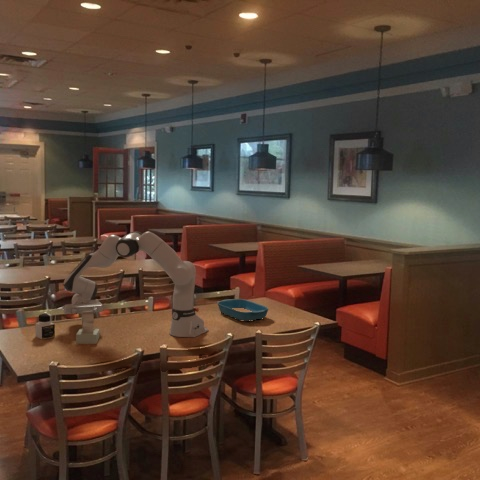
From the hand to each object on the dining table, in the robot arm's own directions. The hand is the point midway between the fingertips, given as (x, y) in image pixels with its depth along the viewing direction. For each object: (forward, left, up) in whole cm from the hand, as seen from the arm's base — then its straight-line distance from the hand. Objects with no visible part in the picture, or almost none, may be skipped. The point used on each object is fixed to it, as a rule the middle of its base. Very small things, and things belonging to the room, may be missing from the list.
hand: (85, 312), depth 282 cm
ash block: (+5, +9, -7) cm, 13 cm away
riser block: (+5, +9, -13) cm, 16 cm away
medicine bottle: (+17, -11, -12) cm, 23 cm away
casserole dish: (-91, +33, -13) cm, 98 cm away
